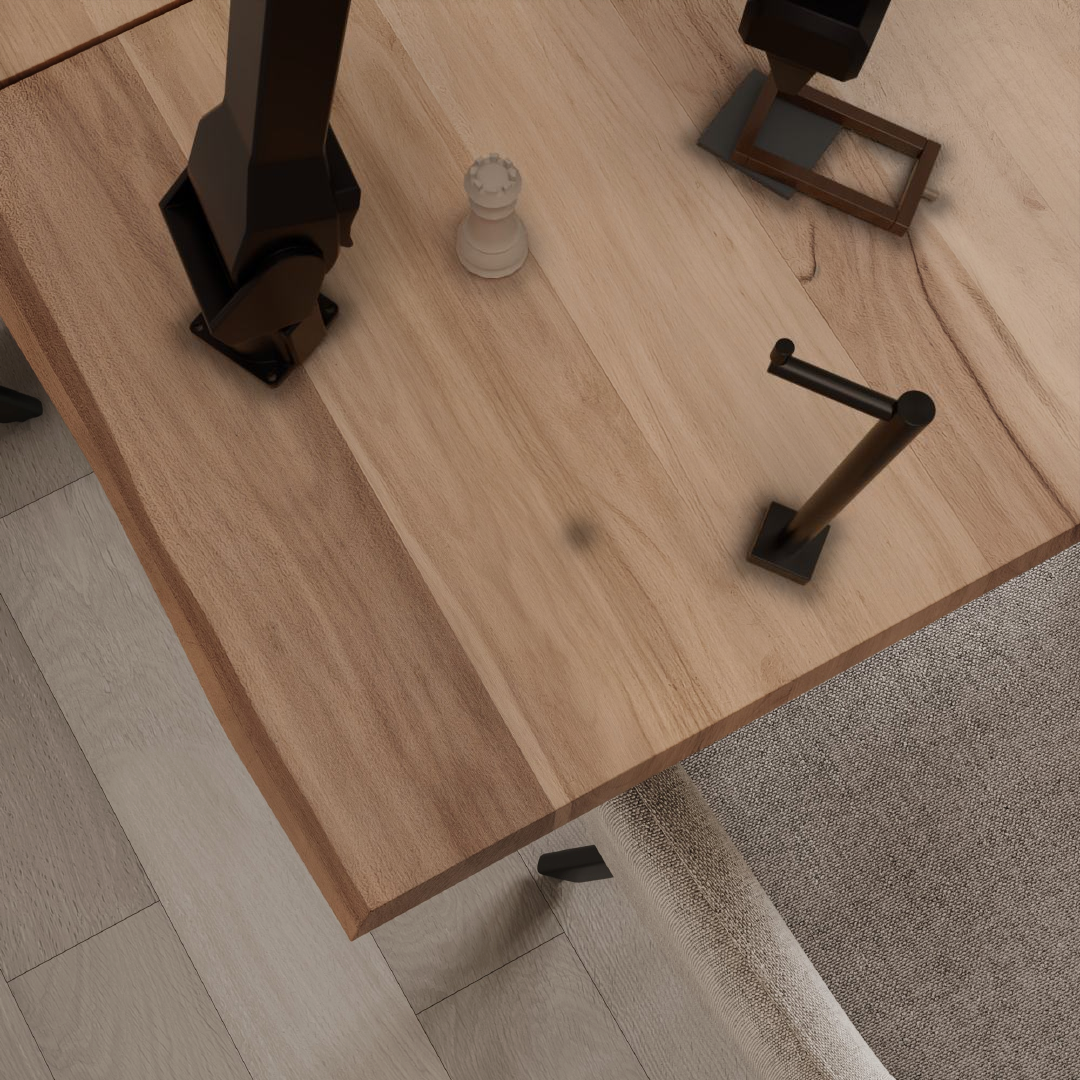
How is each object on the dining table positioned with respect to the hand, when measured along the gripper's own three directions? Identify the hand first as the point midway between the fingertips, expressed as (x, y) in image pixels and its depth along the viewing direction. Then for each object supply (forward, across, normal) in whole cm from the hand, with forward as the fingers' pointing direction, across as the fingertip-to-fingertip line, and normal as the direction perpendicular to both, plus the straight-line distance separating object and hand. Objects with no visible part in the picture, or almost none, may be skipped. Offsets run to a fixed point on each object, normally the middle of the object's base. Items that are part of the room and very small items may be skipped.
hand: (814, 29), depth 62 cm
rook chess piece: (+9, -16, +13) cm, 22 cm away
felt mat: (+9, 0, 0) cm, 9 cm away
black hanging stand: (+9, -26, -8) cm, 29 cm away
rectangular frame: (+8, 0, +2) cm, 8 cm away
